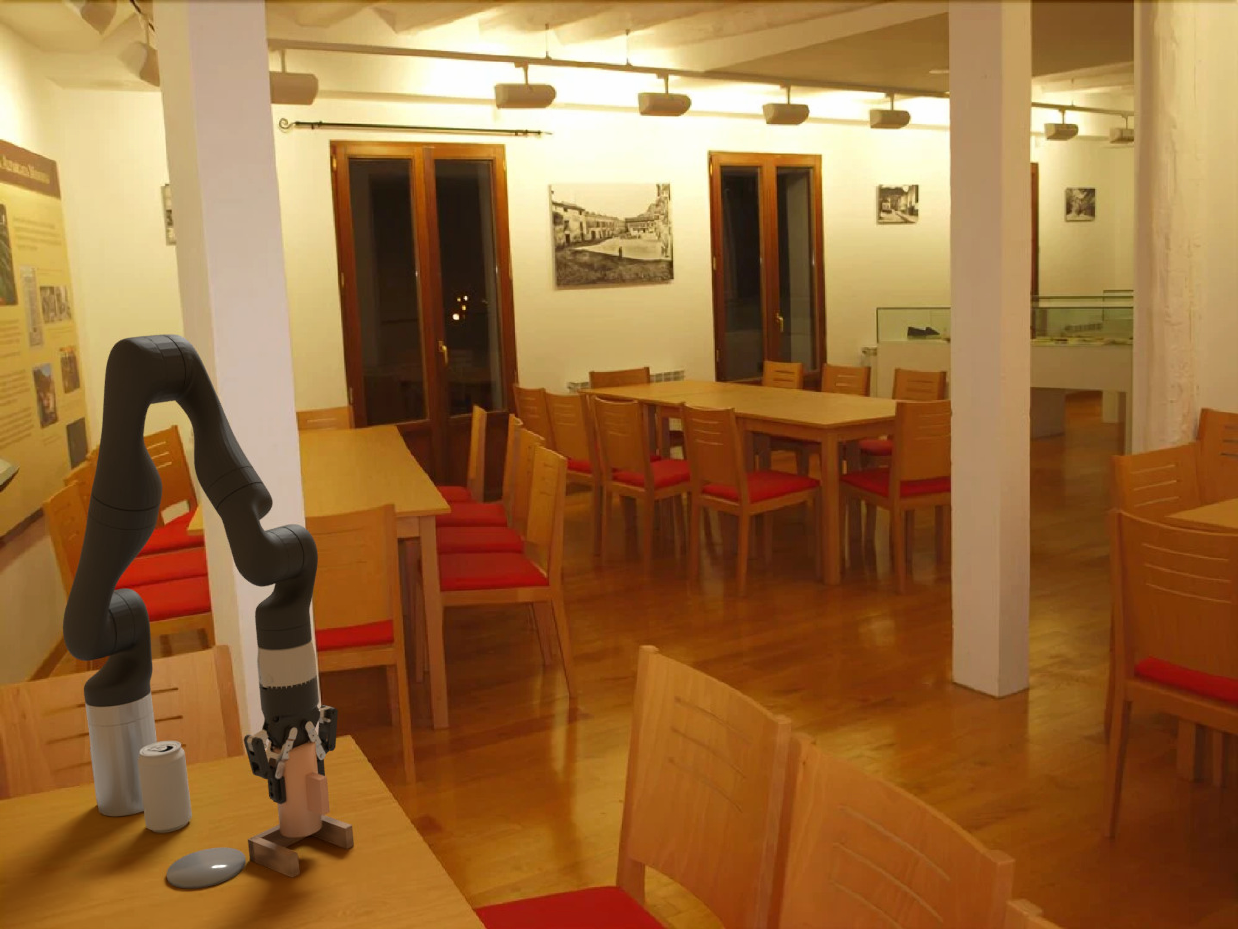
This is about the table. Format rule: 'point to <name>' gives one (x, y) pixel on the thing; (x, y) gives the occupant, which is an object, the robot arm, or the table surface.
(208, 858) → the grey dome disc
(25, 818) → the table surface
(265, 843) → the wooden u-shaped frame
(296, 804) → the peach cylinder with handle
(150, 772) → the beverage can
